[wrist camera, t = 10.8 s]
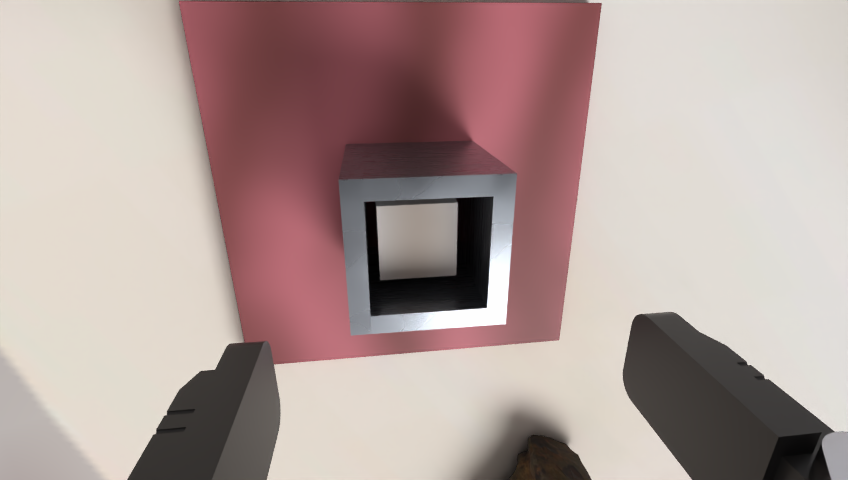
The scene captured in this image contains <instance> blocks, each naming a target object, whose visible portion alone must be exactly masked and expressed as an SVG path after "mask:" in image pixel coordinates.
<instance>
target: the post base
mask: <svg viewBox="0 0 848 480" xmlns="http://www.w3.org/2000/svg"><path fill="white" fill-rule="evenodd" d="M179 5H180V10H181V15H182V20H183V25H184V31H185V36H186V41H187V46H188V51H189V57H190V62H191V67H192V72H193V77H194V82H195V88H196V93H197V98H198V103H199V108H200V114H201V119H202V124H203V129H204V134H205V139H206V145H207V150H208V155H209V160H210V165H211V170H212V176H213V181H214V186H215V191H216V196H217V202H218V207H219V212H220V217H221V222H222V227H223V233H224V238H225V243H226V248H227V253H228V259H229V264H230V269H231V274H232V279H233V284H234V290H235V295H236V300H237V305H238V310H239V315H240V321H241V326H242V331H243V336H244V341H245V343H246V342H260V341H268V342H269V344H270V347H271V351H272V357H273V363H274V364H284V363H296V362H307V361H319V360H331V359H343V358H355V357H366V356H378V355H390V354H402V353H413V352H425V351H437V350H449V349H461V348H472V347H484V346H496V345H508V344H519V343H531V342H543V341H555V340H559V337H560V329H561V321H562V313H563V305H564V297H565V290H566V282H567V274H568V266H569V258H570V250H571V242H572V234H573V226H574V218H575V210H576V202H577V195H578V187H579V179H580V171H581V163H582V155H583V147H584V139H585V131H586V123H587V115H588V108H589V100H590V92H591V84H592V76H593V68H594V60H595V52H596V44H597V36H598V28H599V21H600V13H601V5H602V3H477V2H272V1H179ZM440 141H474V142H475V143H477V144H478V145H479V146H481V147H482V148H483V149H485V150H486V151H487V152H489V153H490V154H491V155H493V156H494V157H496V158H497V159H498V160H500V161H501V162H502V163H504V164H505V165H506V166H508V167H509V168H510V169H512V170H513V171H514V172H516V173H517V181H516V194H515V208H514V221H513V234H512V247H511V260H510V273H509V286H508V299H507V312H506V324H499V325H486V326H472V327H459V328H446V329H432V330H419V331H406V332H392V333H379V334H366V335H353V336H351V332H350V320H349V307H348V294H347V281H346V269H345V256H344V243H343V231H342V218H341V205H340V193H339V175H340V170H341V165H342V160H343V156H344V151H345V146H346V144H363V143H401V142H440ZM366 209H367V227H368V245H369V247H374V246H378V258H379V271H380V280H392V279H408V278H423V277H438V276H453V275H456V266H457V218H458V202H457V201H456V199H455V198H443V199H418V200H394V201H370V202H366Z"/></svg>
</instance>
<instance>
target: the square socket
mask: <svg viewBox="0 0 848 480" xmlns="http://www.w3.org/2000/svg"><path fill="white" fill-rule="evenodd" d="M516 181H517V173H516V172H514V171H513V170H512V169H510V168H509V167H508V166H506V165H505V164H504V163H502V162H501V161H500V160H498V159H497V158H496V157H494V156H493V155H491V154H490V153H489V152H487V151H486V150H485V149H483V148H482V147H481V146H479V145H478V144H477V143H475V142H474V141H440V142H401V143H363V144H346V146H345V151H344V156H343V160H342V165H341V170H340V175H339V193H340V205H341V218H342V231H343V243H344V256H345V269H346V281H347V294H348V307H349V320H350V332H351V336H353V335H366V334H379V333H392V332H406V331H419V330H432V329H446V328H459V327H472V326H486V325H499V324H506V312H507V299H508V286H509V273H510V260H511V247H512V234H513V221H514V208H515V194H516ZM443 198H455V199H456V201H457V202H458V218H457V266H456V275H453V276H438V277H423V278H408V279H392V280H380V271H379V258H378V246H374V247H369V245H368V227H367V209H366V202H370V201H394V200H418V199H443Z"/></svg>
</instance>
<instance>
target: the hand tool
mask: <svg viewBox="0 0 848 480" xmlns="http://www.w3.org/2000/svg"><path fill="white" fill-rule="evenodd" d="M517 460H518V464H517V466H516V470H515V472H514V473H513V475H512V476H511V478H510V479H509V480H591V478H590V476H589V474H588V472H587V471H586V469H585V467H584V466H583V464H582V462H581V461H580V458H579V456H578V455H577V454H576V453H575V452H573V451H572V450H571V449H570V448H569V447H568V446H567V445H566V444H565V443H561V442H558V441H556V440H554V439H552V438H549V437H545V436H538V435H533V436H531V437H529V439H528V451H526V452H524V453H520V454H518V458H517Z"/></svg>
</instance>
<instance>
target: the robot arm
mask: <svg viewBox="0 0 848 480" xmlns="http://www.w3.org/2000/svg"><path fill="white" fill-rule="evenodd" d="M623 381H624V386H625V389H626V392H627V394H628V396H629V398H630V400H631V401H632V402H633V404H634V405H635V406H636V407H637V409H638V410H639V411H640V413H641V414H642V415H643V417H644V418H645V419H646V420H647V422H648V423H649V424H650V426H651V427H652V428H653V429H654V431H655V432H656V433H657V435H658V436H659V437H660V439H661V440H662V441H663V442H664V444H665V445H666V446H667V448H668V449H669V450H670V451H671V453H672V454H673V455H674V457H675V458H676V459H677V461H678V462H679V463H680V464H681V466H682V467H683V468H684V470H685V471H686V472H687V473H688V475H689V476H690V477H691V479H692V480H848V432H843V431H841V432H834V431H833V430H832V429H831V428H829V427H828V426H827V425H826V424H824V423H823V422H822V421H821V420H819V419H818V418H817V417H816V416H814V415H813V414H812V413H810V412H809V411H808V410H807V409H805V408H804V407H803V406H802V405H800V404H799V403H798V402H797V401H795V400H794V399H793V398H792V397H790V396H789V395H788V394H787V393H785V392H784V391H783V390H782V389H780V388H779V387H778V386H777V385H775V384H774V383H773V382H771V381H770V380H769V379H766V380H765V378H764V375H763V374H761V373H760V372H759V371H758V370H756V369H755V368H754V367H753V366H751V365H747V362H746V361H745V360H744V359H743V358H741V357H740V356H739V355H738V354H736V353H735V352H734V351H732V350H731V349H730V348H729V347H727V346H726V345H724V344H722V343H720V342H718V341H716V340H714V339H712V338H710V337H708V336H706V335H704V334H702V333H700V332H699V331H697V330H696V329H695V328H694V327H693V326H691V325H690V324H689V323H688V322H686V321H685V320H684V319H683V318H682V317H680V316H679V315H678V314H676V313H674V312H664V313H651V314H639V315H637V316H636V317H635V318H634V320H633V322H632V326H631V331H630V336H629V342H628V347H627V352H626V358H625V363H624V368H623ZM279 425H280V399H279V393H278V387H277V381H276V375H275V369H274V363H273V357H272V351H271V347H270V344H269V342H268V341H260V342H246V343H233V344H229V345H228V346H227V347H226V349H225V351H224V353H223V355H222V357H221V359H220V361H219V363H218V365H217V367H216V369H215V370H208V371H200V372H199V373H198V374H197V375H196V376H195V377H194V378H192V379H191V380H190V381H189V382H188V383H187V384H186V385H184V386H183V387H182V388H181V389H180V390H179V392H178V393H177V395H176V397H175V398H174V400H173V402H172V404H171V405H170V407H169V409H168V411H167V416H164V417H163V419H162V421H161V423H160V424H159V426H158V428H157V429H156V434H154V435H153V436H152V438H151V440H150V441H149V443H148V445H147V447H146V448H145V450H144V452H143V454H142V455H141V457H140V459H139V460H138V462H137V464H136V466H135V467H134V469H133V471H132V472H131V474H130V476H129V478H128V479H127V480H267V476H268V472H269V468H270V464H271V460H272V456H273V452H274V448H275V444H276V439H277V435H278V431H279Z"/></svg>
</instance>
